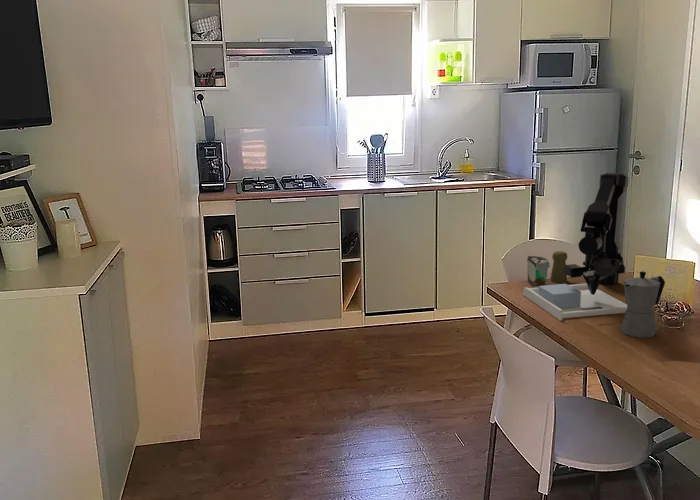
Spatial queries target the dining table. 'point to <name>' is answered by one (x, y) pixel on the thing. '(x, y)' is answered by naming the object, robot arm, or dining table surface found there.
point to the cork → (559, 267)
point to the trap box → (588, 304)
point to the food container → (537, 271)
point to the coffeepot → (641, 305)
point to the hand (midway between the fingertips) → (592, 294)
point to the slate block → (561, 295)
